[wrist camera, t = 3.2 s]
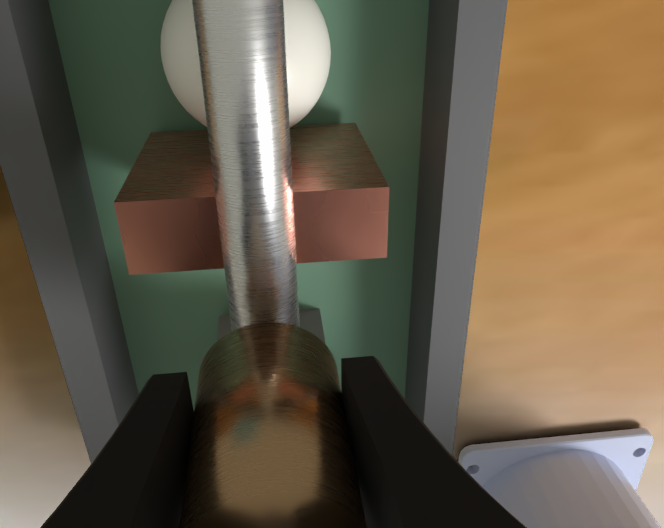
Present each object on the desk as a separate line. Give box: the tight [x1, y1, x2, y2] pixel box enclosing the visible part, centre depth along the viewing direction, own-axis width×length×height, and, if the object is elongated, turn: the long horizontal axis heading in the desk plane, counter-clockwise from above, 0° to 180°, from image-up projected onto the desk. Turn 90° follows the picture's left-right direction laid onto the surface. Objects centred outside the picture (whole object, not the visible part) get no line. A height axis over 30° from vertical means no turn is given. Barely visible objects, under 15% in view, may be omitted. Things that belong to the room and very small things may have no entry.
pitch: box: [0, 0, 507, 464], centre depth 14 cm, size 24×12×5 cm, turn 1°
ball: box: [160, 0, 331, 128], centre depth 12 cm, size 4×4×4 cm
